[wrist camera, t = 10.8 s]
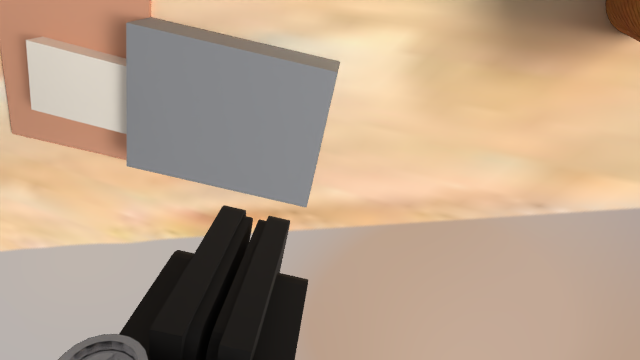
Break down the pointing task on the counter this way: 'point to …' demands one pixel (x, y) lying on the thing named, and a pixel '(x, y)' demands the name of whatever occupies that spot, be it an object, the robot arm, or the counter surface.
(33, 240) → the counter surface
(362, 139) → the counter surface
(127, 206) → the counter surface
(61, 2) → the mat
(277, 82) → the grey block
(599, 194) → the counter surface
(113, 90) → the tile
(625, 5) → the disposable coffee cup
